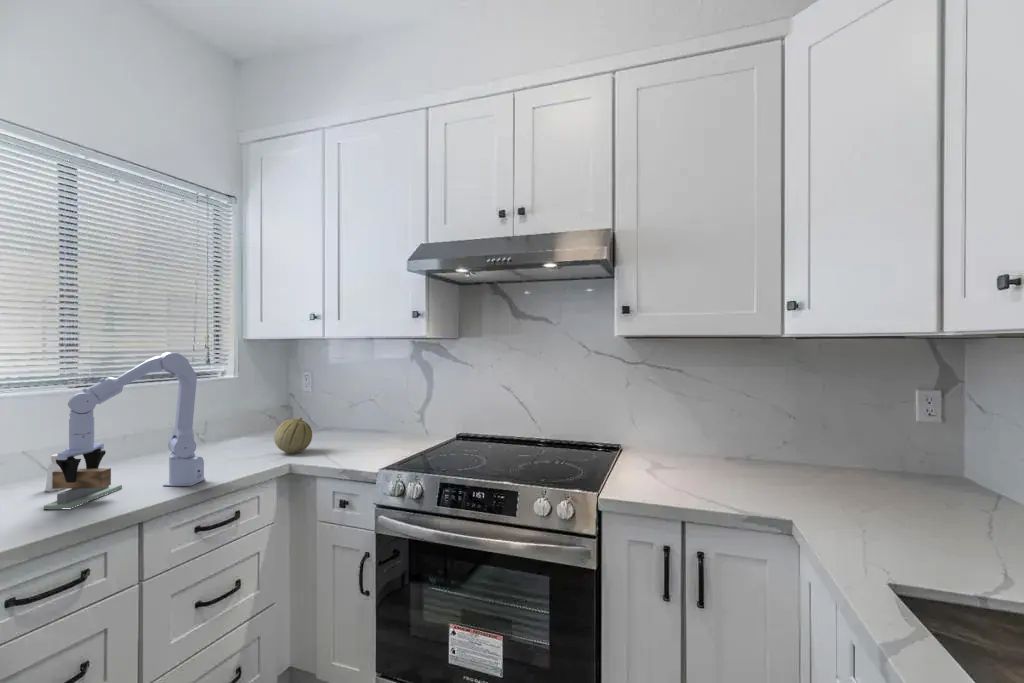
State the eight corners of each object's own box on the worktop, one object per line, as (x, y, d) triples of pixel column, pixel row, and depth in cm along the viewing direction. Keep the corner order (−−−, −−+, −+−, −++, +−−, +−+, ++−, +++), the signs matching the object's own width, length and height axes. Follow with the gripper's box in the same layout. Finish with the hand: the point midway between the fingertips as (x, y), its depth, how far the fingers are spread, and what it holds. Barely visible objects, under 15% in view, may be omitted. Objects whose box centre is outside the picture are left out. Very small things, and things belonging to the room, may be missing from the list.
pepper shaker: (46, 492, 155) (46, 457, 155) (44, 489, 158) (44, 454, 158) (69, 488, 159) (69, 454, 159) (66, 485, 162) (66, 452, 162)
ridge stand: (121, 488, 159) (122, 476, 159) (69, 509, 139) (69, 495, 139) (99, 488, 159) (99, 476, 159) (43, 509, 139) (43, 495, 139)
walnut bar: (110, 484, 150) (110, 468, 150) (101, 488, 146) (102, 471, 146) (62, 485, 149) (62, 468, 149) (52, 488, 145) (52, 471, 145)
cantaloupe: (270, 452, 211) (270, 417, 211) (305, 447, 221) (305, 414, 221) (281, 458, 200) (281, 421, 200) (317, 453, 210) (317, 418, 210)
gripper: (87, 429, 155) (87, 472, 155) (46, 438, 140) (46, 485, 140) (110, 428, 155) (110, 472, 155) (72, 437, 141) (72, 485, 141)
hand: (81, 478), depth 148 cm, fingers open, 7 cm apart
